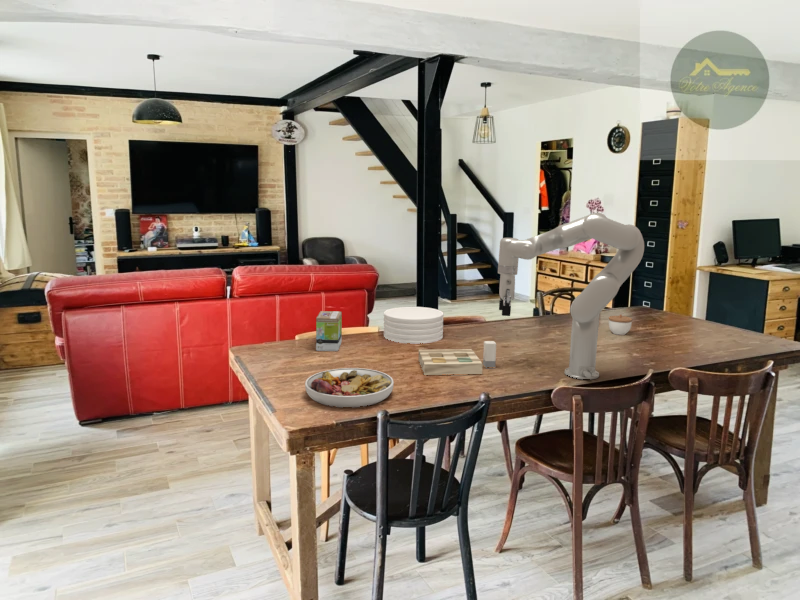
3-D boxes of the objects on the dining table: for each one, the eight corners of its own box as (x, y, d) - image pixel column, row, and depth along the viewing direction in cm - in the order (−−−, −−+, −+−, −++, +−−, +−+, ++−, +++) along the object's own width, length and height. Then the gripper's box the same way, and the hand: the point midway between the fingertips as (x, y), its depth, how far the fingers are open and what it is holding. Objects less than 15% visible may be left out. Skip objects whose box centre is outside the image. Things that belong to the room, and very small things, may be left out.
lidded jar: (628, 337, 285) (630, 318, 283) (605, 334, 291) (606, 315, 289) (632, 332, 294) (634, 314, 292) (610, 329, 300) (611, 311, 298)
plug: (495, 368, 235) (496, 343, 234) (485, 368, 235) (486, 343, 233) (492, 365, 239) (493, 341, 237) (483, 365, 239) (483, 341, 237)
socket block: (482, 374, 227) (482, 362, 226) (424, 375, 225) (424, 363, 224) (471, 359, 247) (472, 348, 246) (418, 360, 245) (418, 348, 244)
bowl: (348, 375, 226) (348, 355, 225) (411, 393, 208) (411, 371, 206) (287, 396, 203) (286, 374, 202) (350, 418, 185) (350, 394, 183)
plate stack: (453, 334, 288) (454, 311, 286) (423, 347, 265) (423, 322, 263) (404, 326, 303) (404, 304, 301) (371, 338, 280) (371, 314, 278)
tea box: (339, 351, 257) (338, 317, 254) (315, 351, 257) (315, 317, 254) (342, 342, 272) (341, 310, 269) (320, 342, 272) (319, 310, 269)
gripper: (520, 274, 224) (517, 318, 227) (514, 267, 241) (511, 308, 244) (500, 273, 224) (497, 317, 228) (495, 266, 241) (492, 307, 244)
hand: (504, 312), depth 236 cm, fingers open, 9 cm apart
